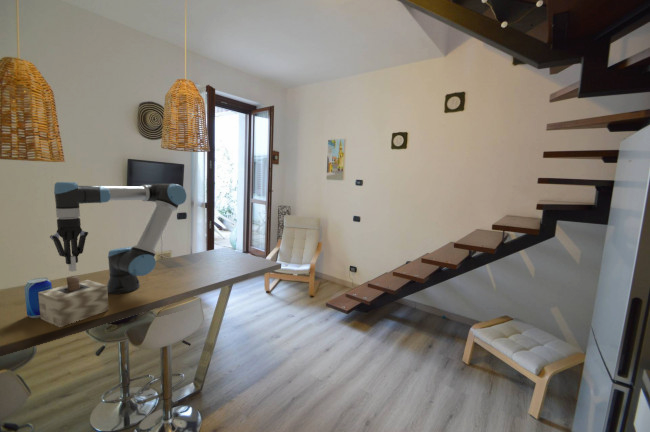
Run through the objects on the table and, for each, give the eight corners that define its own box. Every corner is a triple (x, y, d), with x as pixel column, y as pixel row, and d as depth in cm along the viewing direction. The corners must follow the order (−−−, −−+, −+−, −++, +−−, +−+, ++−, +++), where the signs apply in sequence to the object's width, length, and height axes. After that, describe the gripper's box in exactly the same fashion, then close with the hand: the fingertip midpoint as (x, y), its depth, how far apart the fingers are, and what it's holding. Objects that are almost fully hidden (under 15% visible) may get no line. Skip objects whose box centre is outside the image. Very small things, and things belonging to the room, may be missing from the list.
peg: (82, 300, 128) (80, 276, 126) (72, 303, 124) (69, 279, 123) (77, 298, 129) (75, 275, 128) (67, 301, 125) (64, 277, 124)
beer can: (33, 320, 121) (30, 284, 119) (23, 316, 124) (19, 281, 122) (58, 312, 128) (55, 278, 127) (47, 308, 132) (44, 275, 130)
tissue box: (89, 303, 139) (87, 279, 137) (108, 310, 132) (107, 285, 131) (40, 318, 122) (38, 292, 121) (60, 327, 116) (58, 299, 114)
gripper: (81, 215, 129) (85, 265, 132) (44, 218, 118) (49, 273, 120) (91, 217, 126) (94, 268, 129) (53, 220, 115) (58, 276, 117)
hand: (72, 270), depth 125 cm, fingers closed
